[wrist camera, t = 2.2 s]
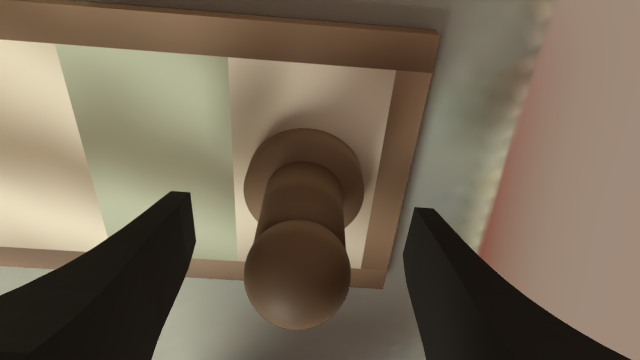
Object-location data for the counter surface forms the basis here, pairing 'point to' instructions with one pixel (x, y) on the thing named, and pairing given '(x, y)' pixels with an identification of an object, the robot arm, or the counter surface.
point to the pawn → (301, 226)
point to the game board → (192, 122)
